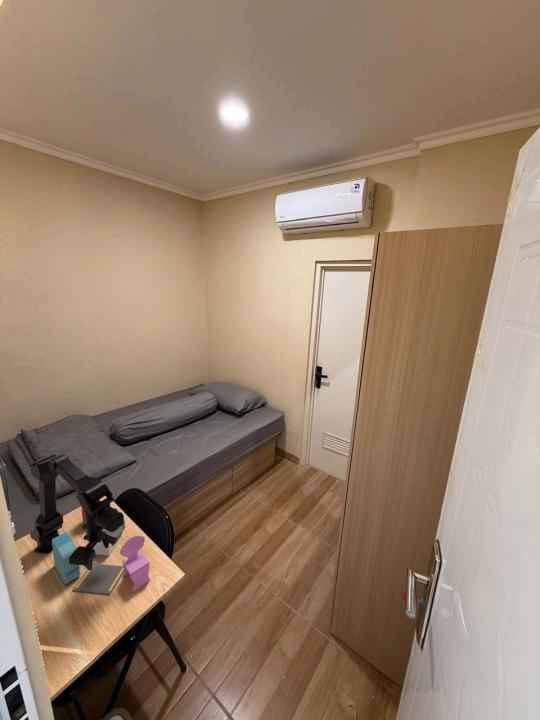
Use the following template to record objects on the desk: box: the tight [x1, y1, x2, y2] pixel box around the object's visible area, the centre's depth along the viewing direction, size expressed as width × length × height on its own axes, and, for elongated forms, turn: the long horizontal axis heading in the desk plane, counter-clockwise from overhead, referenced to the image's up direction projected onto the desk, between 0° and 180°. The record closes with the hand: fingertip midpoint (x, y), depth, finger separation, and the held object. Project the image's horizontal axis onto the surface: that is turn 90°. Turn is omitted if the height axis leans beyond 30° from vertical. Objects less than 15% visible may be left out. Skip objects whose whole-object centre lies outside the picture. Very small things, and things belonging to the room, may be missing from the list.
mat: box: [71, 563, 125, 596], centre depth 99 cm, size 13×10×1 cm
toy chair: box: [119, 535, 151, 593], centre depth 99 cm, size 8×9×15 cm
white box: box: [94, 536, 122, 557], centre depth 112 cm, size 6×8×7 cm
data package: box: [52, 531, 81, 585], centre depth 100 cm, size 12×4×12 cm, turn 51°
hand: (98, 558), depth 98 cm, fingers open, 8 cm apart
